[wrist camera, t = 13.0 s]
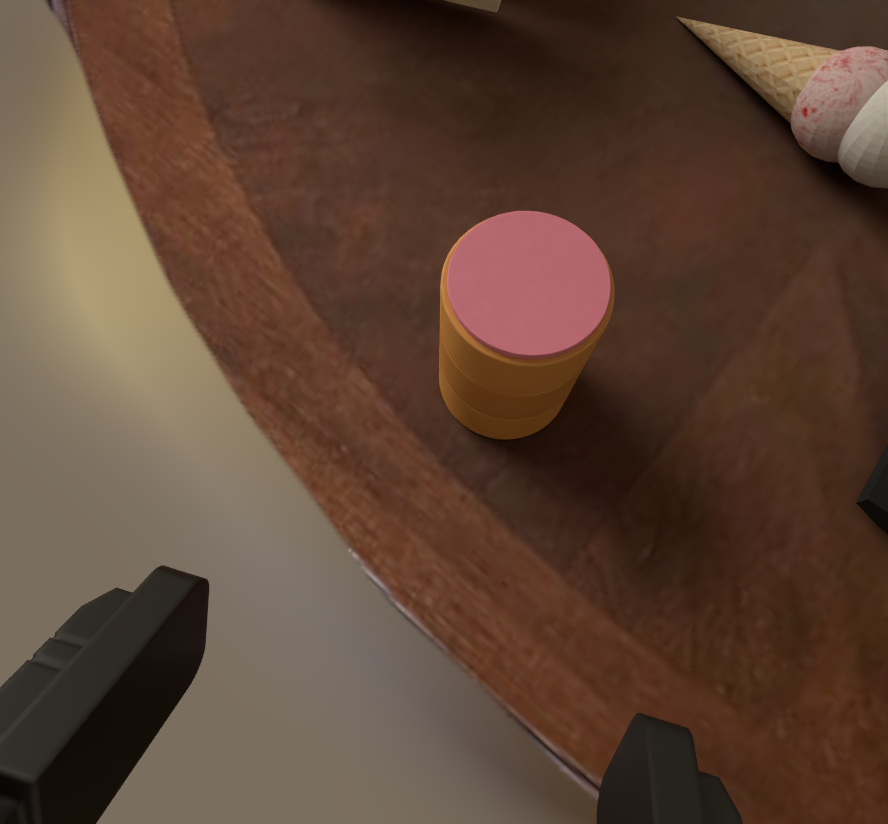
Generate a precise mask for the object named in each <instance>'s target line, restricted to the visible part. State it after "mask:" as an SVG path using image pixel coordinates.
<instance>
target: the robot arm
mask: <svg viewBox="0 0 888 824" xmlns="http://www.w3.org/2000/svg"><path fill="white" fill-rule="evenodd" d="M208 598H209V583H208V580H207V579H205V578H202V577H199V576H195V575H192V574H189V573H186V572H183V571H179V570H176V569H173V568H170V567H166V566H160V567H158V568H156V569H155V570H154V571H153V572H152V573H151V574H150V575H149V576H148V577H147V578H146V579H145V580H144V581H143V583H141V584H140V586H139V587H138V588H137V589H136V590H135V591H134V592H133V593H132V592H128V591H125V590H122V589H119V588H115V589H113V590H111V591H109V592H107V593H105V594H103V595H102V596H100V597H98V598H96V599H94V600H92V601H90V602H88V603H87V604H85V605H83V606H81V607H80V608H79V609H78V610H77V611H76V612H75V613H74V614H73V615H72V616H71V617H70V618H69V619H68V620H67V621H66V622H65V623H64V624H63V625H62V626H61V627H60V628H59V629H58V631H56V633H55V636H54V637H53V638H49V639H48V640H47V641H46V642H45V643H44V644H43V645H42V646H41V648H39V649H38V650H37V651H36V653H34V655H33V658H32V659H31V660H27V661H26V662H25V663H24V664H23V665H22V666H21V667H20V668H19V669H18V671H16V672H15V673H14V674H13V675H12V676H11V677H10V678H9V679H8V680H7V681H6V682H5V683H4V684H3V685H2V686H1V687H0V824H96V823H97V821H98V820H99V818H100V817H101V815H102V814H103V812H104V811H105V809H106V808H107V806H108V805H109V804H110V802H111V801H112V799H113V798H114V796H115V795H116V793H117V792H118V790H119V789H120V788H121V786H122V785H123V783H124V782H125V780H126V779H127V777H128V776H129V774H130V773H131V771H132V770H133V768H134V767H135V765H136V764H137V763H138V761H139V760H140V758H141V757H142V755H143V754H144V752H145V751H146V749H147V748H148V746H149V745H150V743H151V742H152V740H153V739H154V737H155V736H156V735H157V733H158V732H159V730H160V728H161V727H162V726H163V724H164V722H165V721H166V720H167V718H168V717H169V715H170V714H171V713H172V711H173V710H174V708H175V706H176V705H177V704H178V702H179V701H180V699H181V698H182V696H183V695H184V693H185V692H186V690H187V689H188V687H189V686H190V684H191V683H192V681H193V679H194V677H195V675H196V673H197V671H198V669H199V666H200V663H201V661H202V658H203V654H204V650H205V643H206V628H207V613H208ZM597 824H742V819H741V816H740V814H739V812H738V810H737V809H736V807H735V805H734V803H733V801H732V800H731V798H730V796H729V794H728V792H727V791H726V789H725V787H724V785H723V783H722V782H721V780H720V778H719V777H716V776H713V775H710V774H707V773H703V772H700V771H699V770H698V765H697V759H696V753H695V747H694V741H693V737H692V734H691V732H690V730H689V729H688V728H686V727H683V726H680V725H676V724H673V723H670V722H667V721H664V720H660V719H657V718H654V717H651V716H648V715H644V714H641V713H637V714H636V715H635V716H634V718H633V719H632V721H631V723H630V725H629V727H628V729H627V731H626V733H625V735H624V737H623V739H622V741H621V743H620V745H619V747H618V748H617V750H616V752H615V754H614V756H613V758H612V760H611V762H610V764H609V766H608V768H607V770H606V772H605V774H604V777H603V780H602V784H601V787H600V792H599V798H598V805H597Z"/></svg>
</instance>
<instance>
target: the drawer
mask: <svg viewBox="0 0 888 824" xmlns="http://www.w3.org/2000/svg"><path fill="white" fill-rule="evenodd" d="M444 1H448V2H453V3H457V4H461V5H466V6H470V7H474V8H478V9H483V10H487V11H491V12H497V11H498V8H499V6H500V3H501V0H444Z"/></svg>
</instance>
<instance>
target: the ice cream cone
mask: <svg viewBox="0 0 888 824" xmlns="http://www.w3.org/2000/svg"><path fill="white" fill-rule="evenodd" d="M677 18H678V19H679V20H680V21H681V22H682V23H683V24H684V25H685V26H686V27H687V28H688V29H690V30H691V31H692V32H693V33H694V34H695V35H696V36H697V37H698V38H699V39H700V40H701V41H702V42H703V43H705V44H706V45H707V46H708V47H709V48H710V49H711V50H712V51H713V52H714V53H715V54H716V55H717V56H718V57H719V58H721V59H722V60H723V61H724V62H725V63H726V64H727V65H728V66H729V67H730V68H731V69H732V70H733V71H734V72H736V73H737V74H738V75H739V76H740V77H741V78H742V79H743V80H744V81H745V82H746V83H747V84H748V85H749V86H751V87H752V88H753V89H754V90H755V91H756V92H757V93H758V94H759V95H760V96H761V97H762V98H763V99H764V100H765V101H767V102H768V103H769V104H770V105H771V106H772V107H773V108H774V109H775V110H776V111H777V112H778V113H779V114H780V115H782V116H783V117H784V118H785V119H786V120H787V121H788V122H789V123H790V124H791V129H792V132H793V134H794V136H795V138H796V140H797V142H798V144H799V145H800V147H802V148H803V149H804V150H805V151H806V152H807V153H809V154H810V155H811V156H813V157H815V158H818V159H821V160H823V161H826V162H839V164H840V166H841V168H842V170H843V171H844V172H845V173H846V174H848V175H849V176H850V177H851V178H852V179H853V180H855V181H856V182H859V183H862V184H864V185H867V186H870V187H876V188H888V51H887V50H883V49H879V48H876V47H854V48H850V49H846V50H843V51H838V50H833V49H829V48H824V47H819V46H814V45H809V44H805V43H800V42H795V41H790V40H785V39H781V38H776V37H771V36H766V35H761V34H757V33H752V32H747V31H742V30H737V29H733V28H728V27H723V26H718V25H713V24H709V23H704V22H699V21H694V20H690V19H685V18H680V17H677Z"/></svg>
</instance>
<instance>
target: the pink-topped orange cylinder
mask: <svg viewBox="0 0 888 824" xmlns="http://www.w3.org/2000/svg"><path fill="white" fill-rule="evenodd" d="M614 298H615V288H614V281H613V277H612V273H611V270H610V267H609V265H608V262H607V260H606V258H605V257H604V255H603V253H602V252H601V250H600V249H599V248H598V246H597V245H596V244H595V243H594V241H593V240H592V239H591V238H590V237H589V236H588V235H587V234H586V233H585V232H583V231H582V230H581V229H580V228H578V227H577V226H575V225H574V224H572V223H570V222H568V221H567V220H564V219H562V218H560V217H557V216H554V215H551V214H547V213H542V212H536V211H515V212H508V213H504V214H500V215H497V216H494V217H492V218H489V219H487V220H485V221H483V222H481V223H479V224H477V225H475V226H474V227H473V228H471V229H470V230H469V231H467V232H466V233H465V234H464V235H463V236H462V237H461V238H460V239H459V240H458V241H457V242H456V244H455V245H454V246H453V248H452V249H451V251H450V253H449V254H448V256H447V259H446V261H445V263H444V266H443V270H442V275H441V284H440V349H439V351H440V352H439V384H440V390H441V393H442V396H443V399H444V401H445V403H446V406H447V407H448V409H449V410H450V412H451V413H452V414H453V416H454V417H455V418H456V419H457V420H458V421H459V422H460V423H461V424H463V425H464V426H465V427H467V428H468V429H470V430H472V431H474V432H475V433H477V434H480V435H483V436H486V437H490V438H494V439H517V438H522V437H525V436H529V435H531V434H533V433H536V432H538V431H539V430H541V429H542V428H544V427H545V426H546V425H548V424H549V423H550V422H551V421H552V420H553V419H554V418H555V417H556V415H557V414H558V412H559V411H560V409H561V408H562V406H563V404H564V402H565V400H566V398H567V397H568V395H569V393H570V391H571V389H572V388H573V386H574V384H575V382H576V380H577V379H578V377H579V375H580V373H581V371H582V369H583V368H584V366H585V364H586V362H587V360H588V359H589V357H590V355H591V353H592V351H593V349H594V348H595V346H596V344H597V342H598V340H599V339H600V337H601V335H602V333H603V331H604V330H605V328H606V326H607V324H608V322H609V320H610V317H611V314H612V310H613V305H614Z"/></svg>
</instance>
